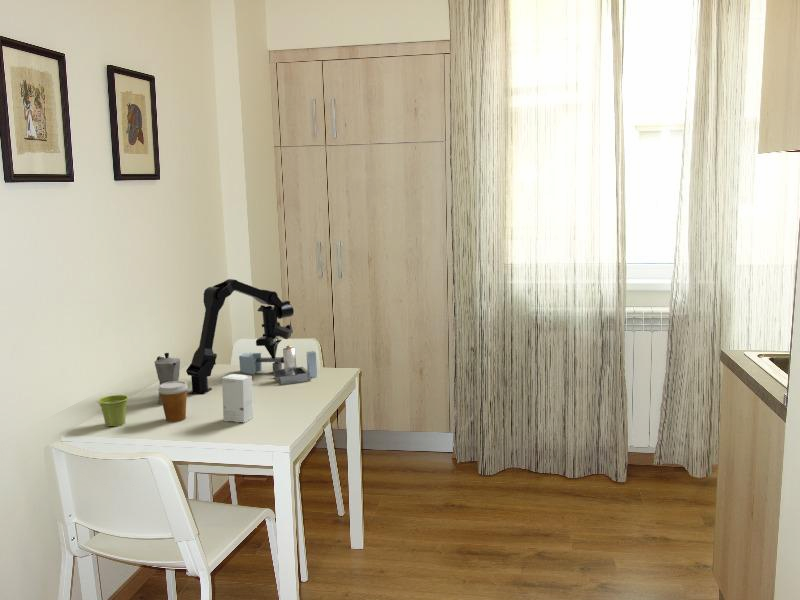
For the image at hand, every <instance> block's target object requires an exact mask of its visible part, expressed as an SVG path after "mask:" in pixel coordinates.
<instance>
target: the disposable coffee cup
mask: <svg viewBox="0 0 800 600" xmlns="http://www.w3.org/2000/svg"><path fill="white" fill-rule="evenodd" d="M159 385H160V384H159ZM159 385H158V390H157V391H158V394H159V393H160V395H161V400H162V404H161V405H162V408H163V412H164V416H165V421H166V422H168V423H177V421H178V422H181V421H184V420H186V418H187V417H186V415H187V399H188V398H187V394H188V388H189V386H188V385H187V382H186V381H182V380H179V381H172V382H166V383H163V384H161V385H160V386H159Z"/></svg>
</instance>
